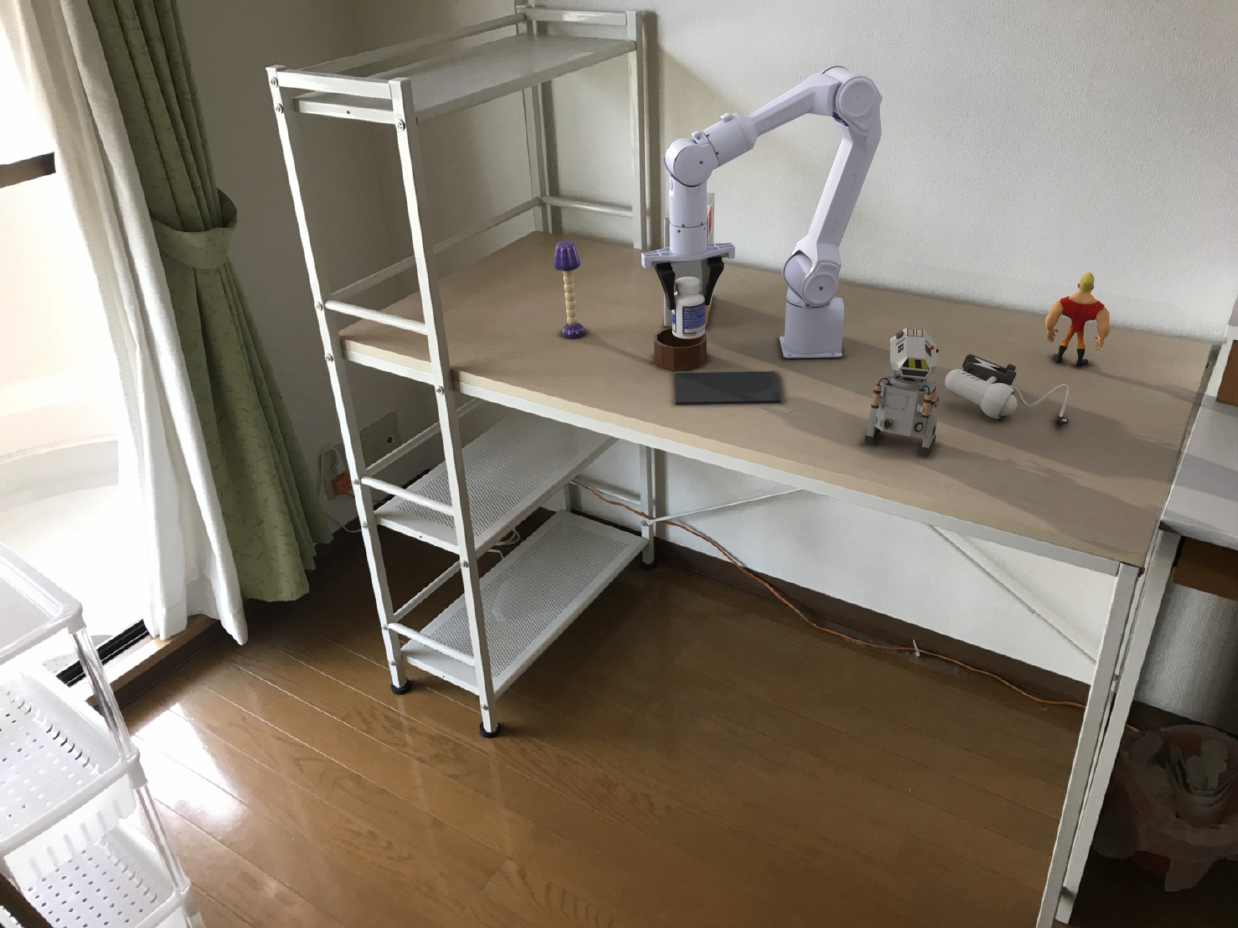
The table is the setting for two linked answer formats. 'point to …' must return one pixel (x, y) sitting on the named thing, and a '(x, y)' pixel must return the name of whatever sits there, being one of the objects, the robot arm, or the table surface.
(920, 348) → the figurine
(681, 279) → the pill bottle
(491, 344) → the table surface
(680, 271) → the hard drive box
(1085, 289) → the action figure
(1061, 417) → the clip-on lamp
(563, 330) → the toy lamp
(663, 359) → the brown bowl
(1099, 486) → the table surface
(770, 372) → the mat
